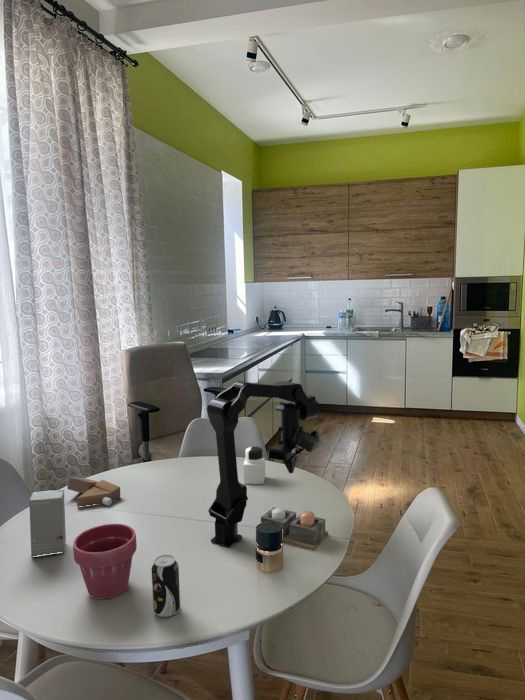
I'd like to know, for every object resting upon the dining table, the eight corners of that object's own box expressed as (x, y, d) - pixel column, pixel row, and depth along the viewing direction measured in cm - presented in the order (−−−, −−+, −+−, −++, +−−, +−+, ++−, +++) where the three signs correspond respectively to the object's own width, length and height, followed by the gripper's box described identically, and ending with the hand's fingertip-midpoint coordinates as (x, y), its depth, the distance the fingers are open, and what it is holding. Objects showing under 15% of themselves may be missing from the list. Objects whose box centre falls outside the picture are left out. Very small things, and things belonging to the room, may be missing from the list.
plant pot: (75, 578, 127) (72, 528, 125) (134, 566, 132) (132, 518, 130) (77, 613, 114) (73, 558, 112) (142, 598, 119) (139, 545, 117)
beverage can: (148, 611, 114) (145, 560, 112) (170, 599, 118) (168, 550, 116) (163, 623, 110) (160, 570, 108) (185, 610, 114) (183, 559, 112)
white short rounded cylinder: (281, 532, 146) (281, 515, 145) (269, 529, 147) (269, 512, 147) (287, 526, 149) (287, 509, 148) (276, 523, 151) (275, 507, 150)
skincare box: (31, 559, 136) (26, 501, 134) (35, 546, 143) (30, 491, 141) (65, 554, 138) (61, 497, 136) (68, 541, 145) (64, 487, 143)
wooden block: (96, 522, 163) (56, 503, 171) (126, 500, 175) (87, 484, 182) (95, 501, 161) (54, 483, 169) (125, 481, 172) (85, 465, 180)
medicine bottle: (265, 476, 189) (264, 445, 187) (263, 484, 182) (262, 451, 180) (245, 476, 190) (245, 444, 188) (243, 484, 183) (242, 451, 181)
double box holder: (313, 550, 138) (313, 533, 137) (257, 535, 146) (257, 519, 145) (328, 534, 146) (328, 517, 145) (274, 521, 155) (274, 505, 154)
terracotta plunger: (310, 535, 141) (310, 518, 140) (298, 532, 143) (298, 515, 142) (316, 529, 144) (316, 512, 143) (304, 526, 146) (304, 509, 145)
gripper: (301, 435, 145) (301, 488, 147) (327, 418, 161) (327, 467, 163) (266, 430, 150) (267, 481, 152) (295, 414, 166) (295, 461, 168)
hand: (291, 472), depth 159 cm, fingers closed
